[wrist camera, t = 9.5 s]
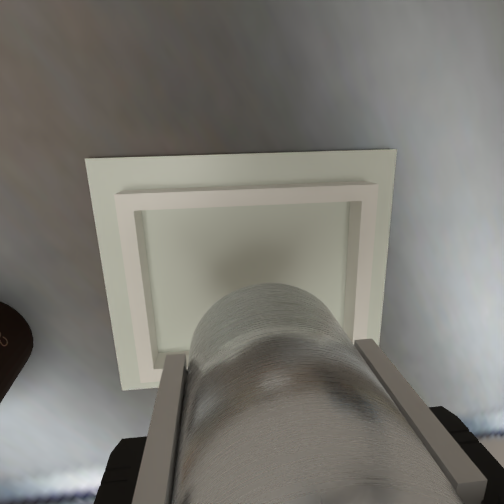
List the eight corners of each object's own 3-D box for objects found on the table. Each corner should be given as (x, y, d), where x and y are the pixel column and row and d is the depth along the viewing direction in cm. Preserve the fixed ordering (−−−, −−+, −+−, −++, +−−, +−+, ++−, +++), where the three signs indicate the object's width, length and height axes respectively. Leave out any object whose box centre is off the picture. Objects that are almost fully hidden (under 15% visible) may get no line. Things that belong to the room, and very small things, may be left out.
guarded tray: (391, 149, 24) (413, 149, 21) (372, 363, 29) (388, 385, 26) (89, 158, 22) (72, 160, 20) (124, 383, 27) (114, 409, 25)
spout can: (345, 277, 15) (639, 577, 5) (338, 410, 17) (532, 827, 7) (182, 288, 15) (100, 659, 4) (195, 424, 17) (161, 908, 6)
